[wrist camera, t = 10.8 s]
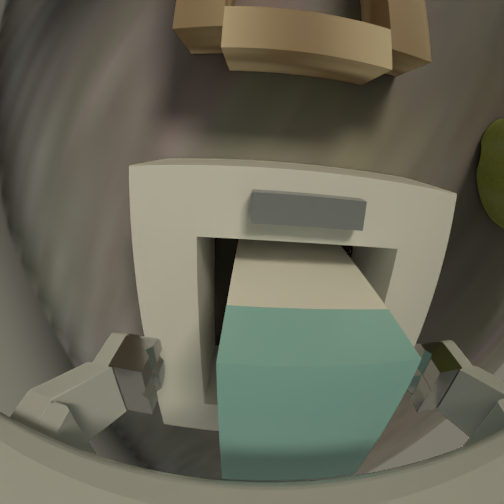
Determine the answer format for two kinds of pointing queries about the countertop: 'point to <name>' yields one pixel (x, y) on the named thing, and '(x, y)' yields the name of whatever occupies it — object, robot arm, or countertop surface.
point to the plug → (305, 364)
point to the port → (273, 229)
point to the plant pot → (492, 172)
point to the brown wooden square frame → (309, 38)
